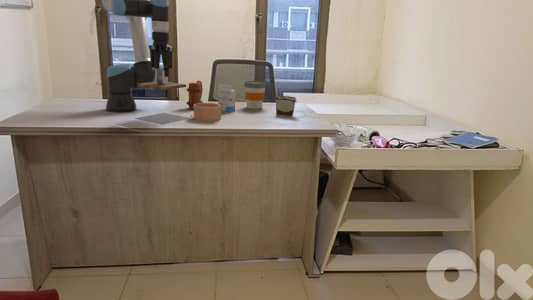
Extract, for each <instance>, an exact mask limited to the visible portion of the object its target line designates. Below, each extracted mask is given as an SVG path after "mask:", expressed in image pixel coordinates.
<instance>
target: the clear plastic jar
mask: <svg viewBox="0 0 533 300" xmlns="http://www.w3.org/2000/svg"><path fill="white" fill-rule="evenodd" d="M232 86H233V85H232V84H223V83H221V84H220V83H219V84H218V91H217V94H218V95H217V99H218V102H217V104H220V105H221V112H222V111H223V112H228V113H229V112H230V113H231V112H235V111H236V89H232Z"/></svg>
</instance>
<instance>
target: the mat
mask: <svg viewBox="0 0 533 300" xmlns="http://www.w3.org/2000/svg"><path fill="white" fill-rule="evenodd" d="M133 119H134V120H135V119H136V120H138V121H139V120H140V121H144V122H149V123H153V124H158V125H162V126H163V125H167V124H171V123H177V122H180V121H186V120H190V119H191V117H187V116H181V115H178V114H172V113H171V114H170V113H167V112H166V113H165V112H161V113H155V114H151V115H146V116H140V117H134V118H133Z"/></svg>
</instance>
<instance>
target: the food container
mask: <svg viewBox="0 0 533 300" xmlns="http://www.w3.org/2000/svg"><path fill="white" fill-rule="evenodd" d="M274 101H275V111H276V112H275V115H276V116H281V115H283V117H288V116H293V117H294V112H295V105H296V103H297V97H296V96H295V97H294V96H290V95H276V96H275V97H274Z"/></svg>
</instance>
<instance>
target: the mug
mask: <svg viewBox="0 0 533 300" xmlns="http://www.w3.org/2000/svg"><path fill="white" fill-rule="evenodd" d="M186 92H188V101H187V102H186V105H187V106H188V108H189V109H191V110H194V104H197V103H204V101H202V95H203V83H202V80H196V81H195V82H189V83H188V87H187V88H186Z"/></svg>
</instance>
